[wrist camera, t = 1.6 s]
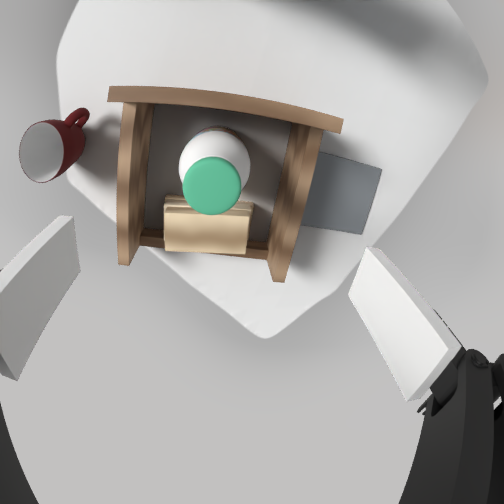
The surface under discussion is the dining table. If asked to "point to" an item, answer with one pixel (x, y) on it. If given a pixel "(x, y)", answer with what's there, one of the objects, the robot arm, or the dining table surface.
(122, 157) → the rack
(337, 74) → the dining table surface
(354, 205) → the mat
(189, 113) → the dining table surface
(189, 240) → the offcut top
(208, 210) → the milk bottle
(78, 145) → the mug
